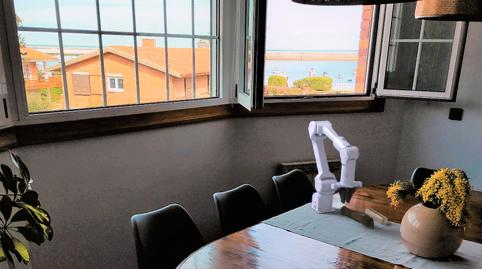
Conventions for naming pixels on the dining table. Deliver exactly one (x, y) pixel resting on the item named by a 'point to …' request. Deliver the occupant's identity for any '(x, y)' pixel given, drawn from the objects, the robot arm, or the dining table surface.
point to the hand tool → (358, 217)
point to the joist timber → (376, 216)
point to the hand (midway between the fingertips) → (345, 202)
